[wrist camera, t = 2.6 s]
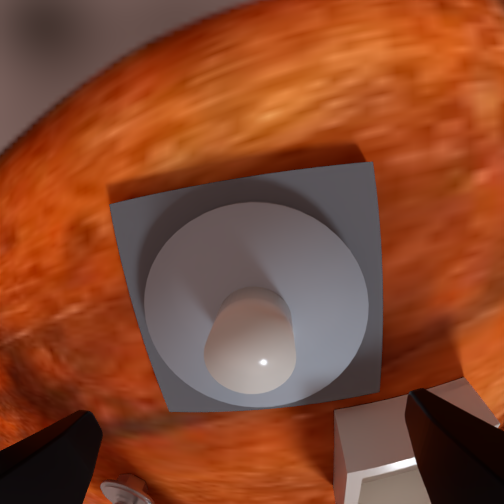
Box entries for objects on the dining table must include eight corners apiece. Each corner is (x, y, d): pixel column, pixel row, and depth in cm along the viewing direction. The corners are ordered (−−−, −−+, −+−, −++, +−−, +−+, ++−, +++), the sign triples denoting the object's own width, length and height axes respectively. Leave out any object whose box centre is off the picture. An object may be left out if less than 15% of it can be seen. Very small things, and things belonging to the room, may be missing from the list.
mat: (172, 403, 17) (169, 411, 16) (117, 202, 14) (109, 204, 14) (375, 383, 16) (379, 392, 15) (367, 162, 13) (372, 161, 12)
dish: (332, 485, 18) (339, 536, 13) (334, 409, 16) (347, 473, 11) (438, 459, 17) (457, 501, 13) (464, 377, 15) (500, 423, 11)
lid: (181, 399, 16) (162, 449, 12) (130, 222, 14) (83, 240, 10) (363, 380, 15) (383, 431, 11) (352, 185, 13) (385, 190, 9)
